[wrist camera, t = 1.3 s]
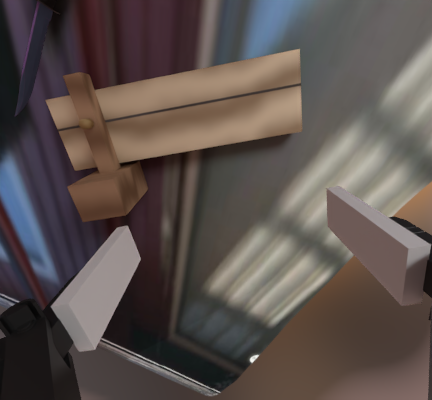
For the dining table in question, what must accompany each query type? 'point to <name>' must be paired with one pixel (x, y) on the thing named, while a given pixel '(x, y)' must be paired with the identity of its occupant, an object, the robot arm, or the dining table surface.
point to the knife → (34, 50)
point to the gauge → (101, 161)
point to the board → (191, 110)
